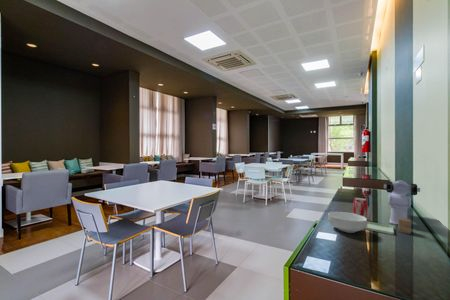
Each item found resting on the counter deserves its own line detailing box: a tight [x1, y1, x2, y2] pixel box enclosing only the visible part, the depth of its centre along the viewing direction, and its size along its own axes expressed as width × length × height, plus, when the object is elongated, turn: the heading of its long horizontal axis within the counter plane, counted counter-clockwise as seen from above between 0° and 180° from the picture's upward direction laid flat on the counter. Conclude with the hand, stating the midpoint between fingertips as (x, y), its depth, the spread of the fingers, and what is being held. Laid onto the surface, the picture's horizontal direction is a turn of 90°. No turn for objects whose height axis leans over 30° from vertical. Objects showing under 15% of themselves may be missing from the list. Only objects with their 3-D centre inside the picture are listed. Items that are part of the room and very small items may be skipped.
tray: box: [363, 220, 395, 236], centre depth 112 cm, size 12×12×1 cm
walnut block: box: [397, 218, 412, 235], centre depth 110 cm, size 4×4×6 cm
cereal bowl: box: [327, 211, 368, 234], centre depth 109 cm, size 17×17×7 cm
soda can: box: [352, 197, 368, 220], centre depth 127 cm, size 7×7×12 cm
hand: (402, 188), depth 107 cm, fingers open, 7 cm apart
